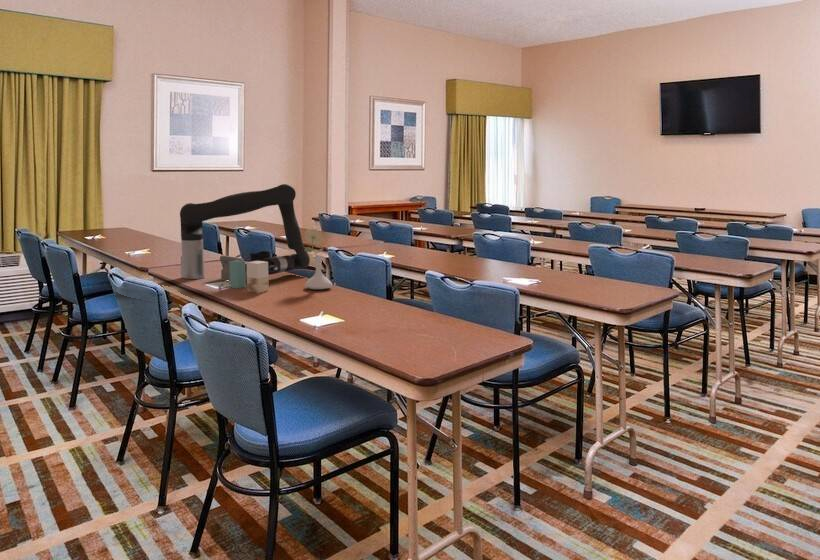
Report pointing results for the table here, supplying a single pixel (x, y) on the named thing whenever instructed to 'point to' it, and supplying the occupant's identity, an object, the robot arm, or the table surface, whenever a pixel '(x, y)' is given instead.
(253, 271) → the cream cube
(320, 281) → the flower in vase
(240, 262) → the teal post
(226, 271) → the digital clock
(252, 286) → the maple cube
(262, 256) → the pen holder
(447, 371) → the table surface
